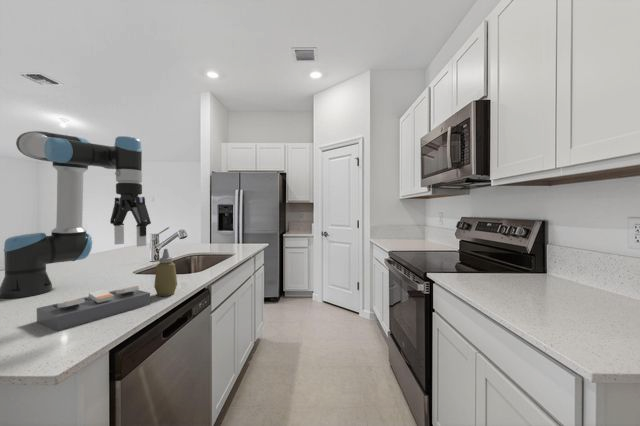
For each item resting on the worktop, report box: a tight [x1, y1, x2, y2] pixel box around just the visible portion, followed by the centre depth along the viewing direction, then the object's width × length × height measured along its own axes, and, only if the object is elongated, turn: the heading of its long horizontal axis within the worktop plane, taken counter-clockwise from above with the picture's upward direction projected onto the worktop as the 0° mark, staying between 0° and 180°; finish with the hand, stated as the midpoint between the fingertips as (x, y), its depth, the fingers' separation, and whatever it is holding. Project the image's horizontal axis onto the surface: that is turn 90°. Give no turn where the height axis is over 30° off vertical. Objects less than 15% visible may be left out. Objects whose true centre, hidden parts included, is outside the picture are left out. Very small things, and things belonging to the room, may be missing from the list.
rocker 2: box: [116, 285, 140, 294], centre depth 102 cm, size 6×4×1 cm
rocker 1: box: [56, 297, 85, 308], centre depth 88 cm, size 6×4×1 cm
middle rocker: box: [88, 289, 114, 303], centre depth 95 cm, size 6×4×1 cm
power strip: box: [36, 289, 151, 332], centre depth 98 cm, size 20×26×5 cm
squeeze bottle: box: [154, 248, 178, 297], centre depth 116 cm, size 8×8×18 cm
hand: (130, 245), depth 101 cm, fingers open, 13 cm apart
